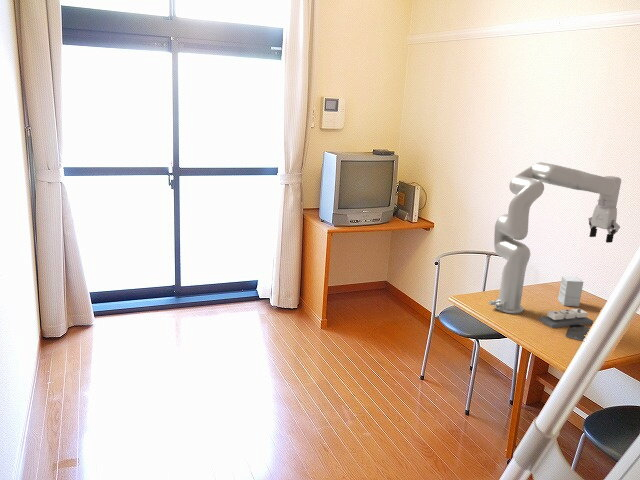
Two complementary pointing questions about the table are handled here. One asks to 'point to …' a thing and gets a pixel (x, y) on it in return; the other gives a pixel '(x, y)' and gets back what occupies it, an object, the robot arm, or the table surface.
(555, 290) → the table surface
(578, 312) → the tile three
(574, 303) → the supplement box
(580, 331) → the smartphone
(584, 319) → the button board
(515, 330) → the table surface
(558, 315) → the tile one
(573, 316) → the tile two
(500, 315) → the table surface
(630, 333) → the table surface
